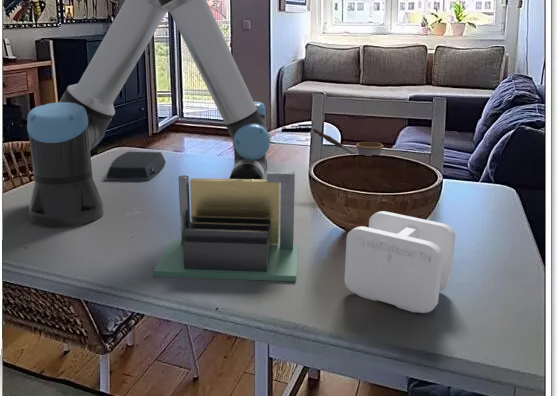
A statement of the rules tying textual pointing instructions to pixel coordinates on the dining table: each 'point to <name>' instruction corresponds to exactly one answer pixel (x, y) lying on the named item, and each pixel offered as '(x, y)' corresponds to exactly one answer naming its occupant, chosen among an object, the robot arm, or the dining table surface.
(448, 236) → the cable organizer
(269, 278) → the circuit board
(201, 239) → the grey slotted rack
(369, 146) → the coffee pot
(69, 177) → the robot arm
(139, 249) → the dining table surface
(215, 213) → the brass plate
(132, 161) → the external hard drive
